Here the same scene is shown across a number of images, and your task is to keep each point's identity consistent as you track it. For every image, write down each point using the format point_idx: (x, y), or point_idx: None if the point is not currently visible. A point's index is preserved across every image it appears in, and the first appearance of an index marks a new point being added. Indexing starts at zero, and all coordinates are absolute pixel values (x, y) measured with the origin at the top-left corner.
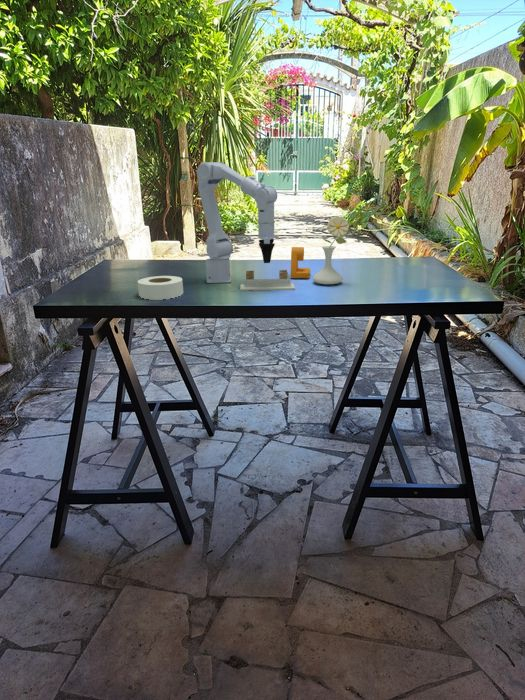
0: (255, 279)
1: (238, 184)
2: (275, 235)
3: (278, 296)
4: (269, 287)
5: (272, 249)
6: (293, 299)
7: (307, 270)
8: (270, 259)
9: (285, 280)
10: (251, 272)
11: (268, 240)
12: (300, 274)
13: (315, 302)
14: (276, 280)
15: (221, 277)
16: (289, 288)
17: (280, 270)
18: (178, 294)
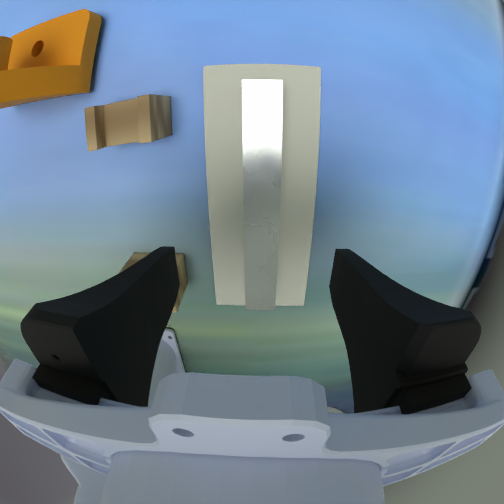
0: (251, 266)
1: None
2: (306, 447)
3: (422, 164)
4: (294, 190)
5: (431, 300)
6: (464, 120)
7: (41, 31)
8: (361, 258)
9: (282, 108)
10: None
11: (496, 402)
12: (87, 45)
13: (494, 66)
14: (281, 160)
15: (171, 363)
16: (319, 93)
17: (96, 143)
18: (332, 411)
